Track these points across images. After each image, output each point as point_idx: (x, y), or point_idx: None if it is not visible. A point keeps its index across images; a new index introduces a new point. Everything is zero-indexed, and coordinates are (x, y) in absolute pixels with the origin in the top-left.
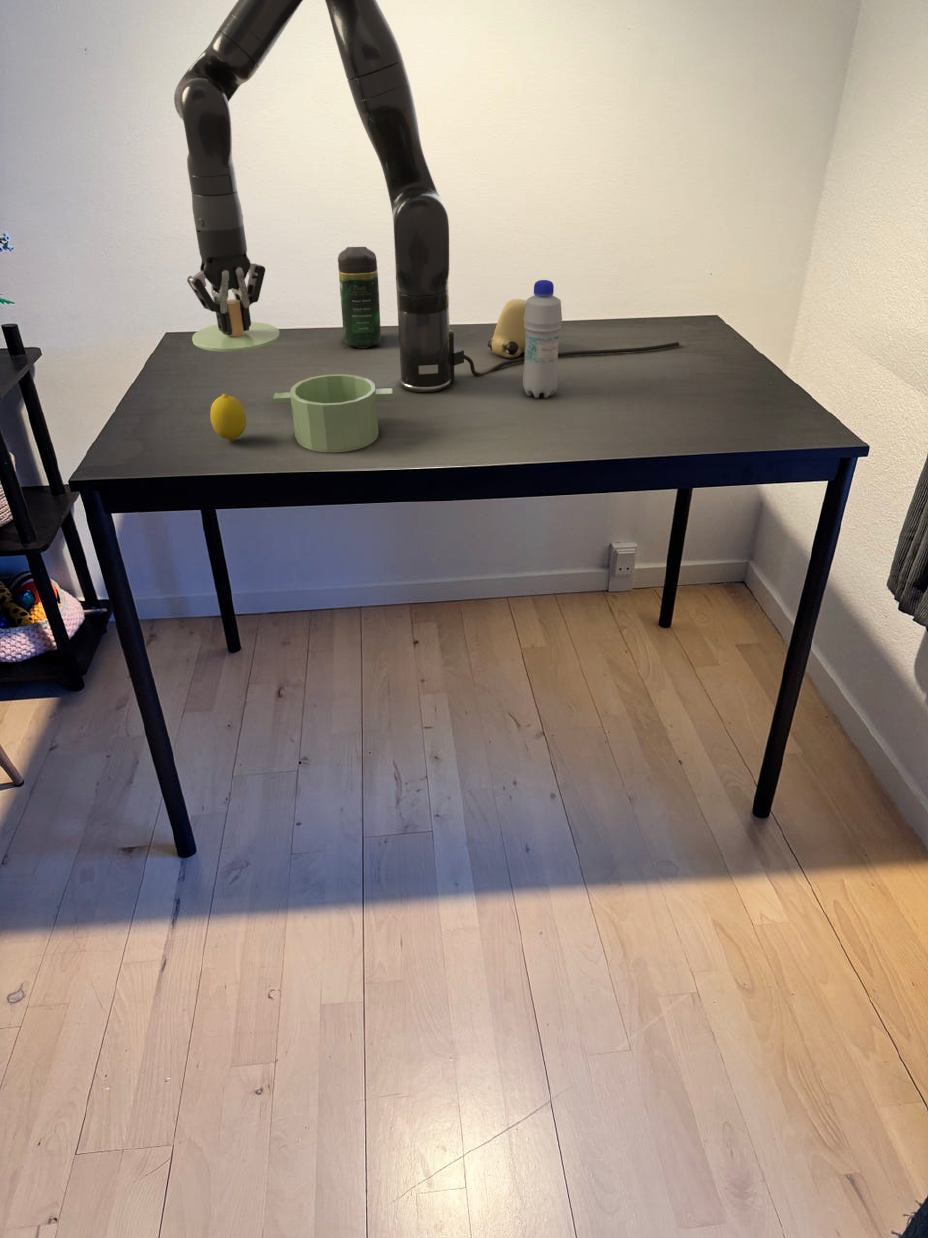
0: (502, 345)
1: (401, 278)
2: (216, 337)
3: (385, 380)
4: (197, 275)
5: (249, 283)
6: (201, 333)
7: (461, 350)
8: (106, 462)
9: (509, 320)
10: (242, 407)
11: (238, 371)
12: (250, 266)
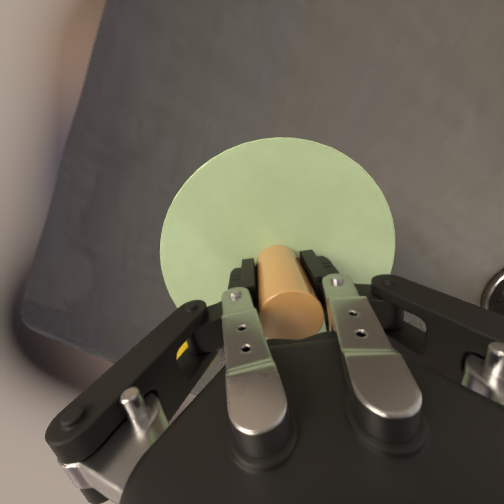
0: None
1: None
2: (223, 261)
3: (494, 245)
4: (101, 489)
5: (429, 325)
6: (196, 204)
7: None
8: (44, 297)
9: None
10: (213, 360)
11: (332, 16)
12: None
